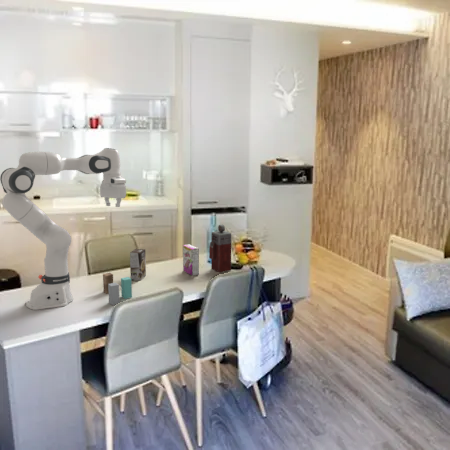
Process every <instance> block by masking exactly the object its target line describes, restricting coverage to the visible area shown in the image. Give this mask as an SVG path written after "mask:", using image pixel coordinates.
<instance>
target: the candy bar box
mask: <svg viewBox="0 0 450 450" xmlns="http://www.w3.org/2000/svg"><path fill="white" fill-rule="evenodd" d="M199 249H200V248H199V247H196V246H194V245H192V244H190V243H188V244H182V265H183V267H182V270H183V272H184V273H187V274H188V275H190V276H192V277H193V276H197V275H199V274H200V250H199Z"/></svg>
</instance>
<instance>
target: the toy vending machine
mask: <svg viewBox="0 0 450 450" xmlns="http://www.w3.org/2000/svg"><path fill="white" fill-rule="evenodd" d="M217 229H218V230H217V231H212V232H211V241H210V242H209V247H208V248H209V254H208V256H209V257H208V258H209V259H210V260H211V261H210V263H211V265H210V268H211V270H213V271H215V272H217V273H223V271H224V272H228V271H229V272H230V271H232V232H229V231H226V230H225V229H226V227H225V225H224V224H219V225H218V226H217Z"/></svg>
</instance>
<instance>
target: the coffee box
mask: <svg viewBox="0 0 450 450" xmlns="http://www.w3.org/2000/svg"><path fill="white" fill-rule="evenodd" d="M146 259H147V258H146V248H135V249H133V250H132V251H130V252H129V260H130V261H129V263H130V264H129V267H130V268H129V269H130V278H131V280H132V281H133V280H134V281H141V280H143V279H144V278H145V277H146V276H147V262H146Z"/></svg>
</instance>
